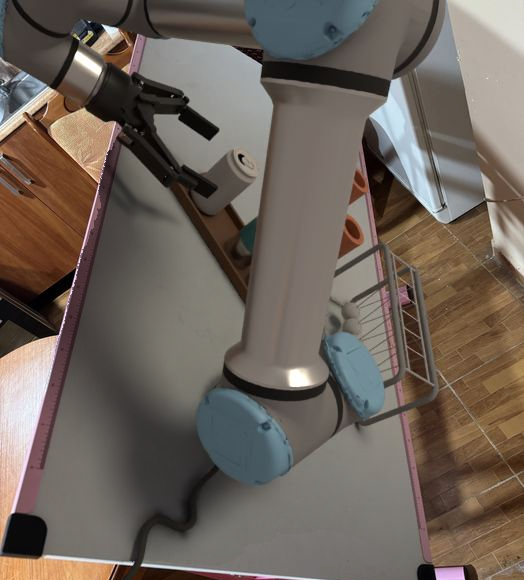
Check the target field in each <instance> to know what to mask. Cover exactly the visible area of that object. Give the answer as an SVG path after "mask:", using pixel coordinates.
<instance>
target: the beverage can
mask: <svg viewBox="0 0 524 580" xmlns="http://www.w3.org/2000/svg"><path fill="white" fill-rule="evenodd" d="M204 173H205V172H204ZM259 175H260V166H259V163H258V161H257V160H256V158H255V156H254V155H253V154H252V153H251V152H250V151H249V150H247V149H246V148H244V147H241V146H236V147H234V149H229V150H227V152H226V153H225V154H224V155H223V156H222V157H221V158H219V160H218V161H217V162H216V163H215V164H213V166H212V167H210V168H209V169H208V170H207V171H206V173H205V174H204V175H203V177H205V178H206V179H208V180H209V181H211V182H213V183H214V184H216V185H217V186H218V190H216V191H215V192H214V193H213V194H212V195H211V196H210V197H209V198H208V199H207V198H205V197H203V196H202V195H200V194H198V193H197V192H195V191H193V190H191V197H192V200H193V202H194V204H195V205H196V207H197V208H198V209H199V210H201V211H202V212H204V213H206V214H209V215H216V214H218V213H219V212H220V211H221V210H222V209H223V208H224V207H226V206H227V205H228V204H229V203H230V202H233V201H234V200H235V199H236V198H237V197H238V196H240V195H241V194H242V193H243V192H244V191H246V190H247V189H248V188H249V187H250V186H251V185H253V183H254V182H256V180H257V177H258V176H259Z"/></svg>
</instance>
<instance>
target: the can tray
mask: <svg viewBox="0 0 524 580" xmlns="http://www.w3.org/2000/svg"><path fill="white" fill-rule="evenodd" d="M206 172H207V171H206ZM206 172H205V171H204V172H202V173H199V174H200V175H202V176H203V175H204V174H205V173H206ZM169 187H170V189H171V191H172V193H174V196H175V197H176V198H177V200H178V201H179V203H180V204H181V206H182V207H183V210H184V211H185V212H186V214H187V215H188V217H189V219H190V220H191V222H192V223H193V225H194V226H195V228H196V229H197V231H198V232H199V234H200V235H201V237H202V239H203V240H204V242H205V243H206V245H207V247H208V248H209V249H210V251H211V253H212V254H213V255H214V257H215V259H216V260H217V262H218V263H219V265H220V267H221V268H222V270H223V271H224V273H225V274H226V276H227V278H228V279H229V280H230V282H231V283H232V285H233V287H234V288H235V290H236V291H237V293H238V294H239V296H240V297H241V299H242V301H243V302H244V304H245V305H246V299H247V292H248V287H247V286H246V277H247V275H248V274H249V273H250V270H251V266H250V267H248V268H247V269H244V270H242V269H238V268H236V267H235V266H234V265H233V264H232V262H231V261H230V259H229V258H228V256H227V255H226V253H225V251H224V244H225V242H226V241H227V240H229V239H230V238H231V237H232V236H234V235H235V234H236V233H237V232H239V231H240V230H241V229H242V228H243V227H244V226H245V225H246V224H245V223H244V221H243V220H242V218H241V216H240V215H239V213H238V211H237V210H236V209H235V207H234V205H233V204H232V203H231V202H232V201H231V202H230V203H229V204H228V205H227V206H226V207H224V208H223V209H222V210H221V211H220V212H219V213H218V214H216V215H209V214H206V213H204V212H202V211H201V210H199V209H198V208H197V207H196V205H195V204H194V202H193V200H192V197H191V190H189V189H187V188H186V187H184V186H183V185H181V184H179V183H178V182H176V181H174V182H173V183H172V184H171V185H170V186H169Z"/></svg>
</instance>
